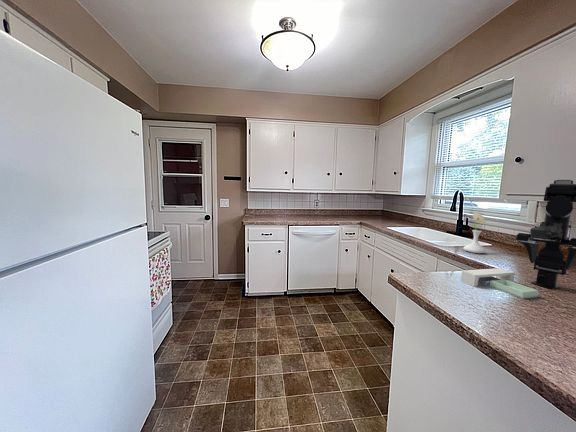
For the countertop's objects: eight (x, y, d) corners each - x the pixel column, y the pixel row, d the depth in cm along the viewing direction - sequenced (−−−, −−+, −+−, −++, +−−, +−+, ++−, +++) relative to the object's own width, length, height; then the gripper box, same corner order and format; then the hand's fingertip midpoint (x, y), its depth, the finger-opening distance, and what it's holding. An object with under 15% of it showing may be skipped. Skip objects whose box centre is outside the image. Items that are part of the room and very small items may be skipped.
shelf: (499, 278, 109) (500, 268, 108) (513, 283, 103) (515, 272, 103) (460, 281, 103) (462, 270, 102) (473, 286, 97) (475, 275, 97)
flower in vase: (489, 255, 149) (494, 214, 146) (467, 253, 152) (472, 213, 149) (479, 250, 161) (484, 212, 159) (459, 248, 165) (463, 211, 162)
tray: (504, 285, 101) (504, 279, 100) (537, 296, 90) (538, 290, 90) (489, 286, 98) (490, 280, 98) (522, 298, 88) (523, 292, 88)
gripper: (508, 215, 90) (501, 257, 90) (580, 218, 72) (571, 270, 72) (529, 220, 93) (522, 261, 93) (603, 224, 75) (594, 274, 75)
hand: (548, 266), depth 83 cm, fingers open, 9 cm apart
